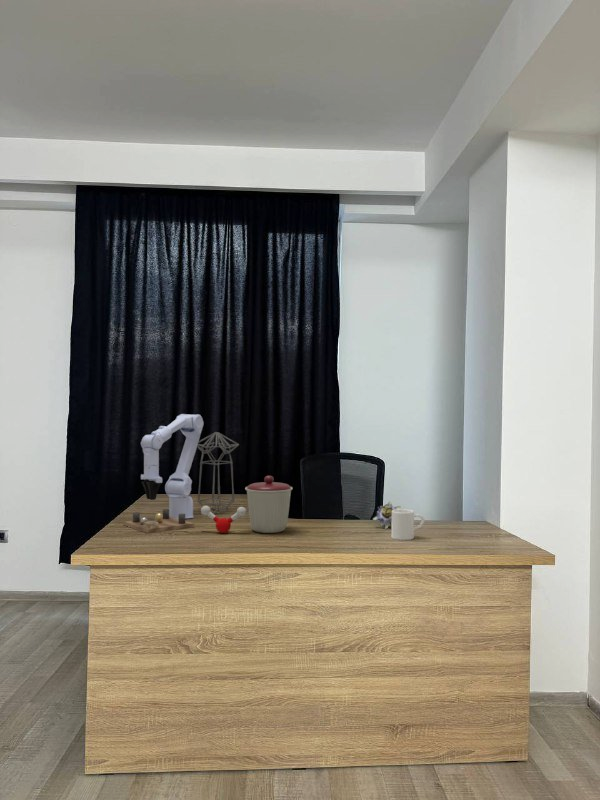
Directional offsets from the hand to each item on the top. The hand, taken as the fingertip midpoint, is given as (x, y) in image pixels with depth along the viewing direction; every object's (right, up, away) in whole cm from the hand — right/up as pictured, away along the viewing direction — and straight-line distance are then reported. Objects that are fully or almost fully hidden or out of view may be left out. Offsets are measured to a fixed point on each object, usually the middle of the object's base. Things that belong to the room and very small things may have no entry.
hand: (151, 499), depth 291 cm
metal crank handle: (+1, -8, -6) cm, 11 cm away
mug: (+99, -11, -24) cm, 102 cm away
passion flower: (+95, -11, -3) cm, 95 cm away
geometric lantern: (+22, -10, +31) cm, 39 cm away
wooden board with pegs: (+4, -10, -4) cm, 12 cm away
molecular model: (+30, -11, -17) cm, 36 cm away
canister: (+47, -11, -12) cm, 50 cm away
